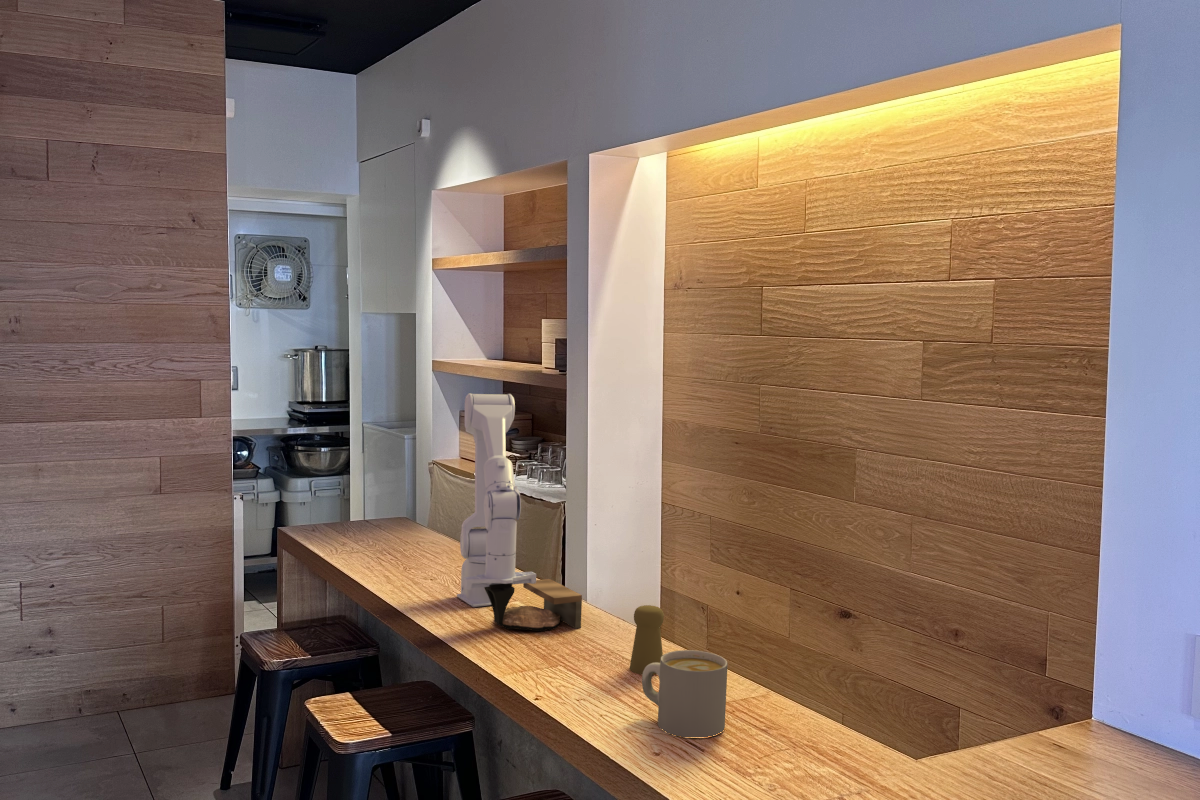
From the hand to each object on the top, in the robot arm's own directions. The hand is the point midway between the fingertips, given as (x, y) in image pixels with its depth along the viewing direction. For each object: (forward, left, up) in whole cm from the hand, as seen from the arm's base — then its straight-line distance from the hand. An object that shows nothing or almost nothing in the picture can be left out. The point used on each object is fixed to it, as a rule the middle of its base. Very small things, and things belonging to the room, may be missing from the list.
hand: (498, 622), depth 201 cm
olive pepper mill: (+32, +14, -1) cm, 35 cm away
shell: (-1, +6, -1) cm, 6 cm away
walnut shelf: (-1, +12, -1) cm, 12 cm away
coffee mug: (+55, +6, -1) cm, 55 cm away
